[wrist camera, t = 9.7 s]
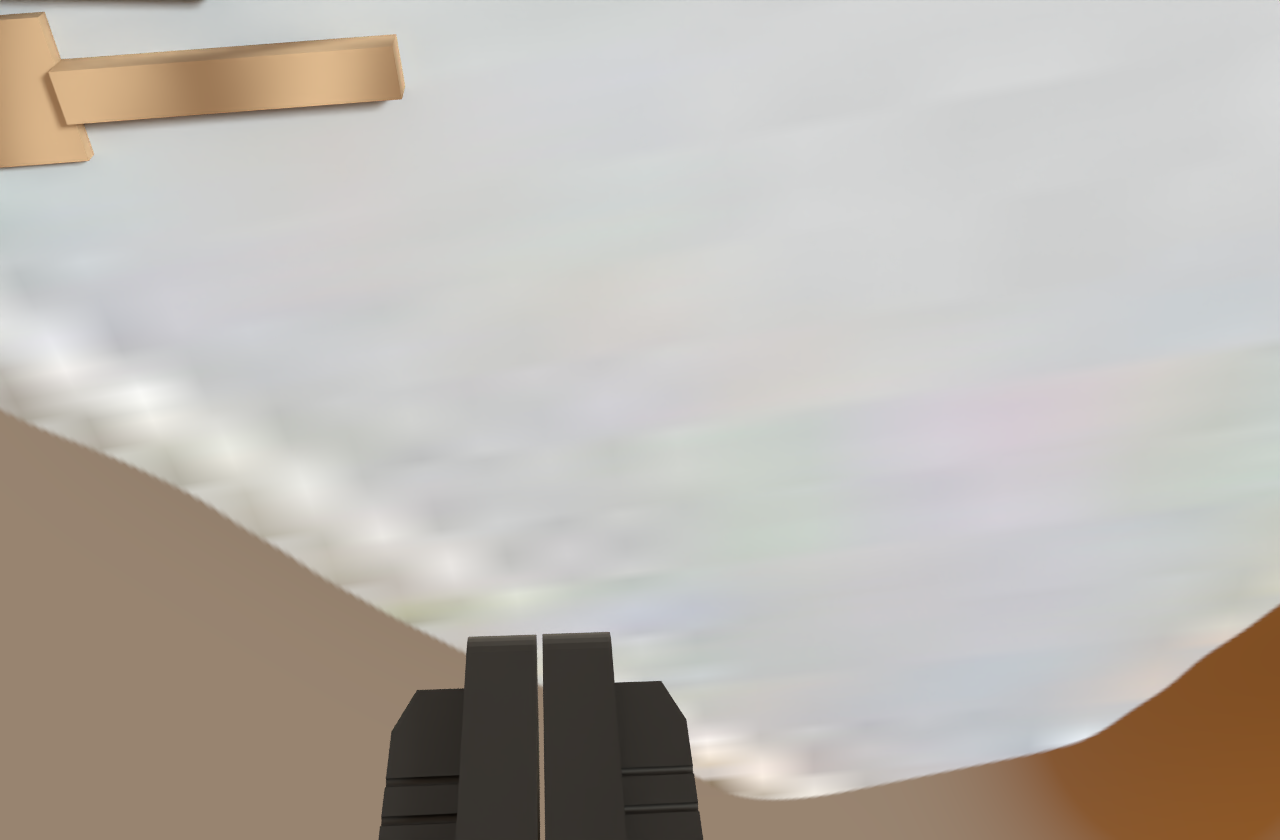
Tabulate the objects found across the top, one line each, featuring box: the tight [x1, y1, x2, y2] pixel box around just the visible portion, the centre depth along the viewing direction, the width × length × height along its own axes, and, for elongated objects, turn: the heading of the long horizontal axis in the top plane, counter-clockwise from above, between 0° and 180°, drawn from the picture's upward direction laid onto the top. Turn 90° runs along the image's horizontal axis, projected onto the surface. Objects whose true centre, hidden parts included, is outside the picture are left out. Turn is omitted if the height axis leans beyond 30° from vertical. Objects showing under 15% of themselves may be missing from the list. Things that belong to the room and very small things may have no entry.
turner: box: [0, 12, 405, 168], centre depth 34 cm, size 16×4×1 cm, turn 93°
